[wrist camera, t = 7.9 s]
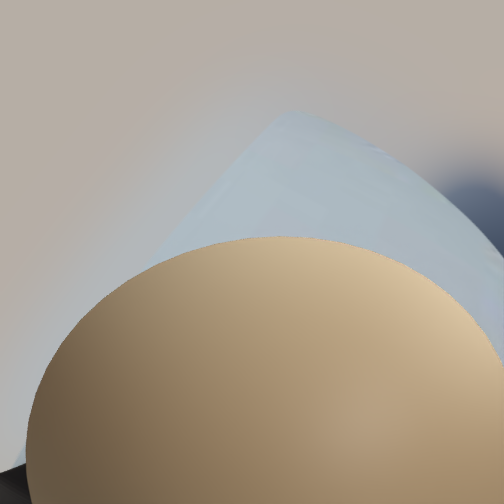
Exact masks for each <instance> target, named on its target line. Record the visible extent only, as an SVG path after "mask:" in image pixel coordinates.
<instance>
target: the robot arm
mask: <svg viewBox="0 0 504 504" xmlns="http://www.w3.org/2000/svg"><path fill="white" fill-rule="evenodd" d="M0 504H32V501H31V496H30V491H29V486H28V480H27V471H26V463H25V464H23V465H20V466H18V467H15V468H13V469H10V470H7V471H5V472H2V473H0Z"/></svg>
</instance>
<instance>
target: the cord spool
mask: <svg viewBox="0 0 504 504" xmlns="http://www.w3.org/2000/svg"><path fill="white" fill-rule="evenodd" d="M26 471H27V480H28V486H29V491H30V496H31V501H32V504H504V368H503V365H502V363H501V360H500V358H499V357H498V355H497V353H496V351H495V349H494V348H493V346H492V344H491V343H490V341H489V339H488V338H487V336H486V335H485V333H484V332H483V331H482V329H481V328H480V327H479V325H478V324H477V323H476V322H475V320H474V319H473V318H472V317H471V315H470V314H469V313H468V312H467V311H466V310H465V309H464V308H463V307H462V306H461V305H460V304H459V303H458V302H457V301H456V300H455V299H454V298H452V297H451V296H450V295H449V294H448V293H447V292H445V291H444V290H443V289H441V288H440V287H439V286H437V285H436V284H435V283H433V282H432V281H431V280H429V279H428V278H427V277H425V276H423V275H421V274H420V273H418V272H416V271H414V270H413V269H411V268H409V267H407V266H405V265H404V264H402V263H400V262H397V261H395V260H393V259H390V258H388V257H385V256H383V255H380V254H378V253H376V252H373V251H370V250H366V249H363V248H359V247H356V246H352V245H348V244H345V243H340V242H334V241H328V240H322V239H315V238H303V237H282V236H278V237H262V238H247V239H241V240H235V241H230V242H224V243H218V244H214V245H210V246H207V247H203V248H200V249H196V250H193V251H190V252H186V253H183V254H181V255H179V256H176V257H174V258H171V259H169V260H167V261H164V262H162V263H159V264H157V265H155V266H153V267H151V268H149V269H148V270H146V271H144V272H142V273H140V274H139V275H137V276H135V277H133V278H132V279H130V280H128V281H127V282H125V283H124V284H122V285H121V286H120V287H118V288H117V289H116V290H114V291H113V292H111V293H110V294H109V295H107V296H106V297H105V298H103V299H102V300H101V301H100V302H99V303H98V304H97V305H96V306H95V307H94V308H93V309H91V311H89V312H88V313H87V314H86V315H85V316H84V317H83V318H82V319H81V320H80V321H79V323H78V324H77V325H76V326H75V327H74V329H73V330H72V331H71V332H70V333H69V335H68V336H67V337H66V338H65V340H64V341H63V342H62V344H61V345H60V347H59V348H58V350H57V352H56V353H55V355H54V357H53V358H52V360H51V362H50V363H49V365H48V367H47V369H46V371H45V373H44V375H43V378H42V380H41V383H40V385H39V387H38V390H37V392H36V395H35V399H34V402H33V406H32V410H31V414H30V417H29V422H28V431H27V439H26Z"/></svg>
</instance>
